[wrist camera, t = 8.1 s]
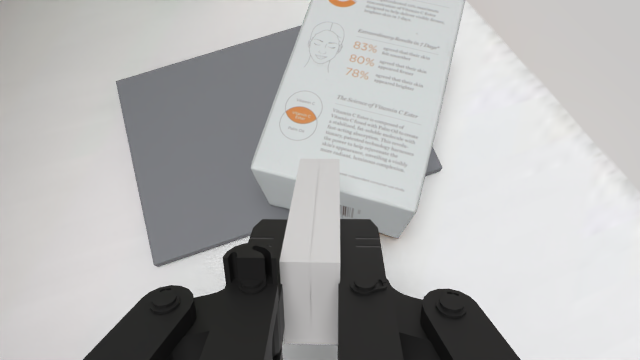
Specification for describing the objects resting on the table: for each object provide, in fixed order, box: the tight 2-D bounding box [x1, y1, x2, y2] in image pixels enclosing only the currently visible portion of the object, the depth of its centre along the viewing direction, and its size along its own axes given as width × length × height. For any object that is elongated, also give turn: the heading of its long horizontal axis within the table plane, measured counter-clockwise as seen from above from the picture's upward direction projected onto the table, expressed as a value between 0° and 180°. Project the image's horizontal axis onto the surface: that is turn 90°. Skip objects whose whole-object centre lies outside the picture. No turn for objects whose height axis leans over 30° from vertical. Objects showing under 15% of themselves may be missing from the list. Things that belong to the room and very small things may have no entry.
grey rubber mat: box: [116, 25, 442, 266], centre depth 28 cm, size 13×18×1 cm
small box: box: [251, 0, 465, 238], centre depth 24 cm, size 8×6×13 cm
